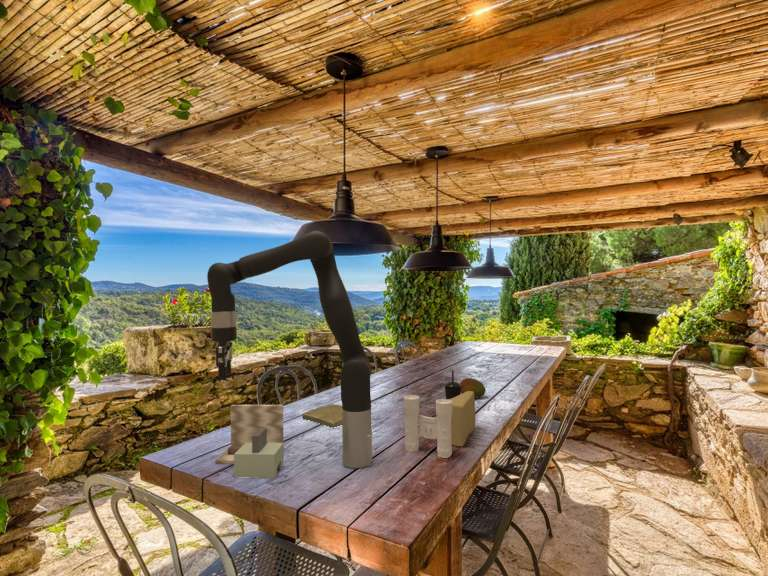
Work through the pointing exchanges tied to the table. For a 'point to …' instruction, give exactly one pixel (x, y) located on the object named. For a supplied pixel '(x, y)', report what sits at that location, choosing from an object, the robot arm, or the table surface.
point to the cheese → (462, 417)
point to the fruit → (473, 387)
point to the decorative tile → (325, 415)
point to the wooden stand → (252, 427)
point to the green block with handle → (259, 457)
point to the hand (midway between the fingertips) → (225, 376)
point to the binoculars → (428, 425)
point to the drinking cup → (452, 388)
